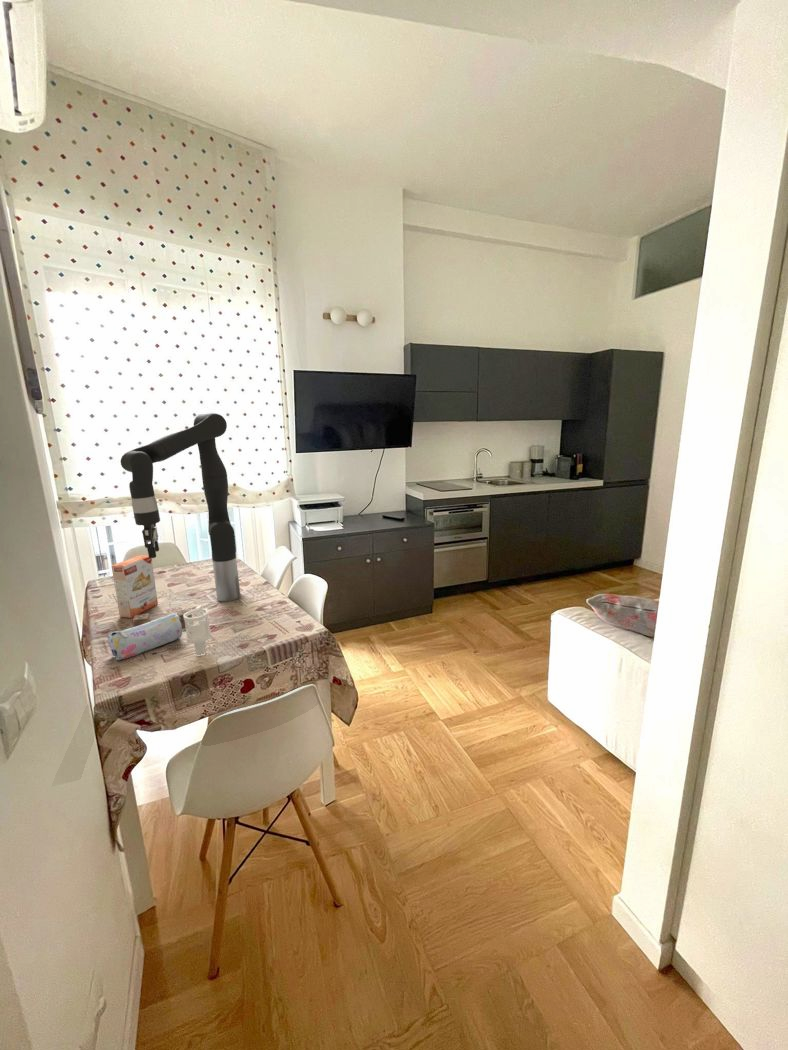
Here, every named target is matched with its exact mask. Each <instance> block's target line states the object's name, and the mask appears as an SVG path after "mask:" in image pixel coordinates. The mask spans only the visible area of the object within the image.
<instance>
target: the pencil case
mask: <svg viewBox="0 0 788 1050" xmlns="http://www.w3.org/2000/svg"><path fill="white" fill-rule="evenodd" d="M179 619H181V618H180V617H179V616H178V615H177V613H172V612H171V613H170V614H169V615H165V616H161V617H158V618H156V619H153V620H150V622H148V623H145V624H142V625H139V626H136V627H134V626H132V627H130V628H125V629H123V630H120V631H118V630H117V631H112V632H110V633H108V634H107V641H108V645H109V648H110V651H111V653H112V656H113V657H114V656H115V657H116V658H115V657H114V658H115V660H116V661H117V660H118V661H121V660H126V659H129V658H132V657H135V656H137V655H139V653H140V654H142V653H145V652H148V651H149V650H154V649H155V648H157V647H160V646H164V645H166V644H169V643H171V642H174V641H176V640H178V639H180V638H182V634H183V627H182V625H181V622H180V620H179ZM147 650H148V651H147ZM144 651H145V652H144ZM141 652H142V653H141ZM134 655H135V656H134ZM131 656H132V657H131ZM128 657H129V658H128ZM125 658H126V659H125Z"/></svg>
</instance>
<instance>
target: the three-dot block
mask: <svg viewBox="0 0 788 1050" xmlns="http://www.w3.org/2000/svg"><path fill="white" fill-rule="evenodd" d="M150 621H151V616H150V613H148V612H147V613H143V614H142V613H140V614H138V615H135V617H133V618H132V625H133V626H132V627H136V626H139V625H142V624H145V623H148V622H150Z"/></svg>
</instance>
